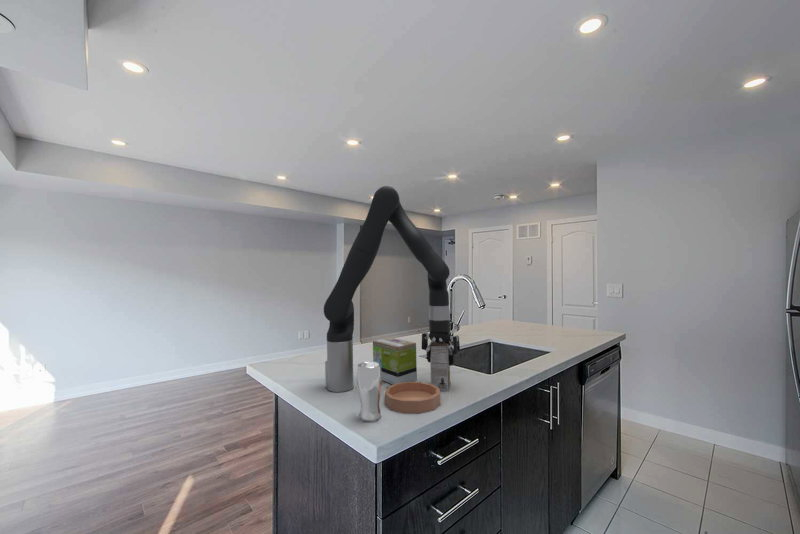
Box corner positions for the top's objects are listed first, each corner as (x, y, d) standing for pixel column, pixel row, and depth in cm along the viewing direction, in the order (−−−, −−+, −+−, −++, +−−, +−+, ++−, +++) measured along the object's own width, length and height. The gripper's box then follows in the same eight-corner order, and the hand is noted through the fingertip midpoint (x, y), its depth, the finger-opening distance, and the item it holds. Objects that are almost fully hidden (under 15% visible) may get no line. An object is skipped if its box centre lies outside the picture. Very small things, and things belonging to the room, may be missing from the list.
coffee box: (433, 382, 124) (432, 338, 124) (450, 383, 123) (449, 339, 123) (430, 390, 115) (429, 344, 115) (449, 391, 114) (448, 344, 114)
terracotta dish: (374, 405, 103) (374, 393, 103) (405, 388, 117) (405, 378, 117) (421, 418, 93) (421, 405, 93) (449, 398, 107) (449, 387, 107)
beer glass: (358, 413, 98) (357, 361, 98) (382, 411, 98) (381, 360, 99) (357, 423, 91) (356, 368, 91) (383, 422, 91) (381, 367, 92)
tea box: (372, 378, 130) (371, 340, 130) (391, 372, 137) (391, 336, 137) (398, 387, 119) (397, 346, 119) (417, 380, 126) (417, 341, 126)
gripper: (417, 318, 120) (418, 363, 120) (452, 320, 112) (454, 369, 112) (427, 315, 126) (428, 358, 126) (462, 318, 118) (463, 363, 118)
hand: (440, 363), depth 119 cm, fingers open, 8 cm apart
